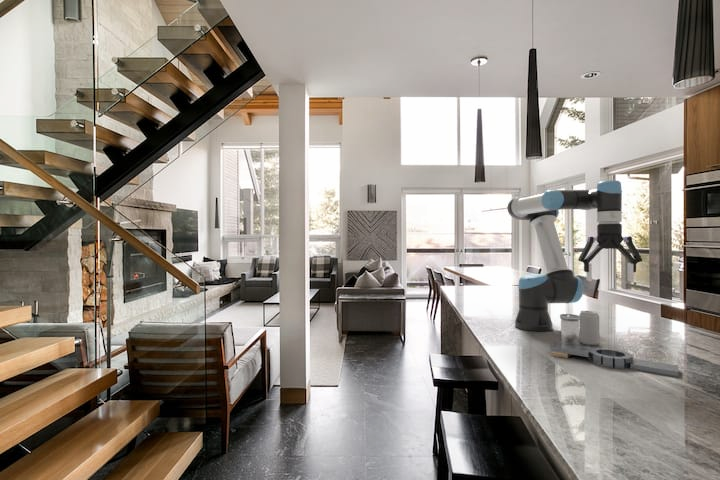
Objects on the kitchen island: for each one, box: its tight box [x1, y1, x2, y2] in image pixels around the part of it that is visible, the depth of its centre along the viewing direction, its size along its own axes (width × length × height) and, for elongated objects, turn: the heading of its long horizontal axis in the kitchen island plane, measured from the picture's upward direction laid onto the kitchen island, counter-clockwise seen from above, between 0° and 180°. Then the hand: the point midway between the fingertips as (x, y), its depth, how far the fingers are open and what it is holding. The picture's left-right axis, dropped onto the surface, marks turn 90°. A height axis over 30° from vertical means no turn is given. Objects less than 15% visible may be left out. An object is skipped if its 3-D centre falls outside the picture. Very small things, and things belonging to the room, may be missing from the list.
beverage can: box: [578, 310, 601, 346], centre depth 142 cm, size 6×6×12 cm
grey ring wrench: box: [550, 341, 679, 378], centre depth 121 cm, size 33×12×3 cm, turn 50°
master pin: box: [559, 313, 580, 346], centre depth 135 cm, size 6×6×12 cm
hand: (609, 281), depth 139 cm, fingers open, 13 cm apart
